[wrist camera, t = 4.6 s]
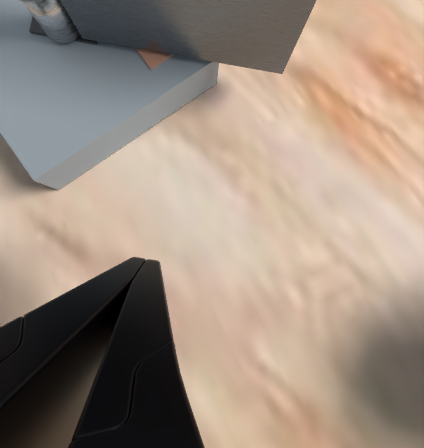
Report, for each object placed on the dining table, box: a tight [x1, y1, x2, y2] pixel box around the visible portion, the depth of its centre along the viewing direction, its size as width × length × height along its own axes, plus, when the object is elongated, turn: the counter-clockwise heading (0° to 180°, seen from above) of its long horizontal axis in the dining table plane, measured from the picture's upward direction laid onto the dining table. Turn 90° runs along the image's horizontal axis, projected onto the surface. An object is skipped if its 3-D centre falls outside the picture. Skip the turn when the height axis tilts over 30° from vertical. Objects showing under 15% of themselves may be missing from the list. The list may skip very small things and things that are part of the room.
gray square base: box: [0, 0, 219, 190], centre depth 16 cm, size 12×12×3 cm
